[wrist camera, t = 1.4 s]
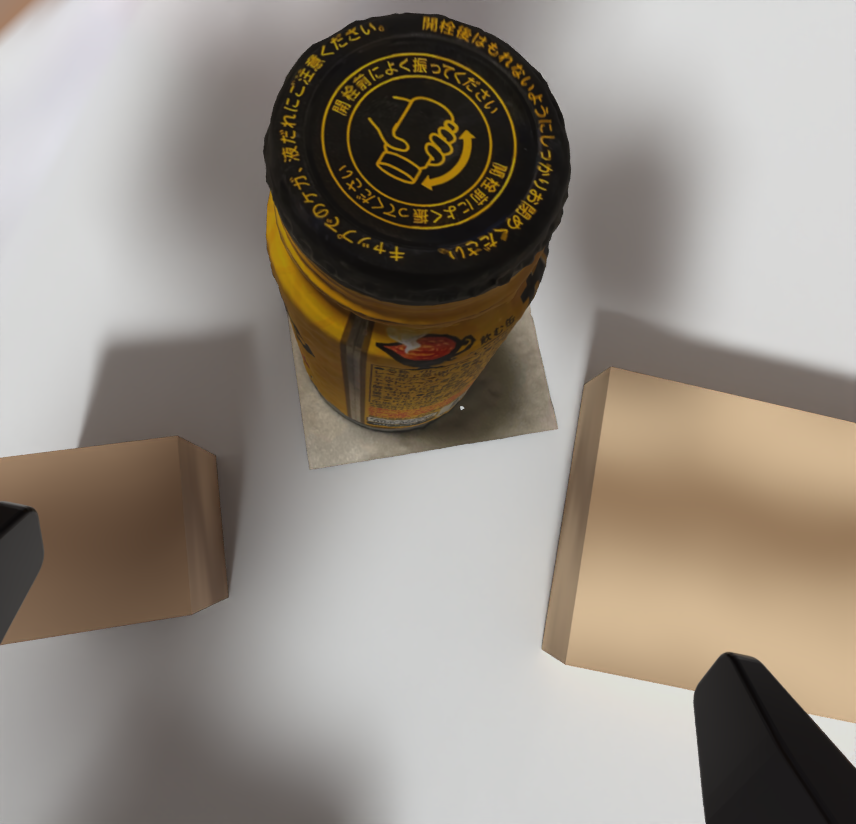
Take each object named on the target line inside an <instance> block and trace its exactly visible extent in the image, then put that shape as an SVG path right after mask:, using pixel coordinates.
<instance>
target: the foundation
mask: <svg viewBox="0 0 856 824" xmlns="http://www.w3.org/2000/svg"><path fill="white" fill-rule="evenodd" d="M542 650H544V651H545V652H547V653H548V654H550V655H551V656H553V657H554V658H556V659H557V660H559V661H561V662H562V663H564V664H565V665H570V666H575V667H580V668H584V669H589V670H594V671H599V672H604V673H609V674H614V675H619V676H624V677H629V678H634V679H639V680H644V681H649V682H654V683H659V684H664V685H669V686H674V687H679V688H684V689H688V690H693V691H695V689H696V687H697V685H698V683H699V682H700V680H701V679H702V678H703V676H704V675H705V674H706V673H707V671H708V670H709V669H710V667H711V666H712V665H713V664H714V662H715V661H716V660H717V658H718V657H719V656H720V655H721V654H723V653H725V652H733V653H738V654H743V655H748V656H752V657H754V658H756V659H758V660H759V661H760V662H761V663H762V664H764V666H765V667H766V668H767V669H768V670H769V671H770V672H771V673H772V675H773V676H774V677H775V678H776V679H777V680H778V681H779V682H780V684H781V685H782V686H783V687H784V688H785V689H786V690H787V691H788V693H789V694H790V695H791V696H792V697H793V698H794V699H795V700H796V702H797V703H798V704H799V705H800V706H801V707H802V708H803V709H804V711H805V712H806V713H807V714H812V715H817V716H822V717H827V718H832V719H837V720H842V721H847V722H852V723H856V423H853V422H849V421H845V420H840V419H836V418H832V417H827V416H823V415H819V414H814V413H810V412H806V411H801V410H797V409H793V408H788V407H784V406H780V405H775V404H771V403H767V402H762V401H758V400H754V399H749V398H745V397H741V396H736V395H732V394H728V393H723V392H719V391H715V390H710V389H706V388H702V387H697V386H693V385H689V384H684V383H680V382H676V381H671V380H667V379H663V378H658V377H654V376H650V375H645V374H641V373H637V372H632V371H628V370H624V369H619V368H615V367H610V368H608V369H607V370H605V371H604V372H602V373H601V374H599V375H598V376H596V377H595V378H593V379H592V380H590V381H589V382H587V383H586V384H584V389H583V395H582V401H581V407H580V414H579V420H578V426H577V432H576V438H575V445H574V451H573V457H572V463H571V470H570V476H569V482H568V488H567V494H566V501H565V507H564V513H563V519H562V526H561V532H560V538H559V544H558V550H557V557H556V563H555V569H554V575H553V582H552V588H551V594H550V600H549V606H548V613H547V619H546V625H545V631H544V638H543V644H542Z"/></svg>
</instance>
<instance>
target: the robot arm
mask: <svg viewBox="0 0 856 824" xmlns="http://www.w3.org/2000/svg"><path fill="white" fill-rule="evenodd" d="M43 560H44V546H43V540H42V534H41V528H40V522H39V516H38V513H37V511H36V510H35V509H34V508H33V507H31V506H27V505H22V504H17V503H12V502H7V501H0V644H1V642H2V641H3V639H4V637H5V635H6V633H7V631H8V629H9V627H10V626H11V624H12V622H13V620H14V618H15V616H16V614H17V612H18V611H19V609H20V607H21V605H22V603H23V601H24V599H25V598H26V596H27V594H28V592H29V590H30V588H31V586H32V584H33V583H34V581H35V579H36V577H37V575H38V573H39V571H40V569H41V567H42V564H43ZM693 702H694V715H695V725H696V735H697V746H698V756H699V766H700V777H701V787H702V797H703V806H704V814H705V822H706V824H856V768H855V767H854V766H853V765H852V764H851V762H850V761H849V760H848V759H847V758H846V757H845V756H844V755H843V753H842V752H841V751H840V750H839V749H838V748H837V747H836V746H835V744H834V743H833V742H832V741H831V740H830V739H829V738H828V737H827V735H826V734H825V733H824V732H823V731H822V730H821V729H820V727H819V726H818V725H817V724H816V723H815V722H814V721H813V720H812V718H811V717H810V716H809V715H808V714H807V713H806V712H805V711H804V709H803V708H802V707H801V706H800V705H799V704H798V703H797V702H796V700H795V699H794V698H793V697H792V696H791V695H790V694H789V693H788V691H787V690H786V689H785V688H784V687H783V686H782V685H781V684H780V682H779V681H778V680H777V679H776V678H775V677H774V676H773V675H772V673H771V672H770V671H769V670H768V669H767V668H766V667H765V666H764V664H762V663H761V662H760V661H759V660H758V659H756V658H754V657H752V656H748V655H743V654H738V653H733V652H725V653H723V654H721V655H720V656H719V657H718V658H717V660H716V661H715V662H714V664H713V665H712V666H711V667H710V669H709V670H708V671H707V673H706V674H705V675H704V676H703V678H702V679H701V680H700V682H699V683H698V685H697V687H696V689H695V692H694V700H693Z"/></svg>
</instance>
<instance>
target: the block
mask: <svg viewBox="0 0 856 824" xmlns="http://www.w3.org/2000/svg"><path fill="white" fill-rule="evenodd" d="M0 501H7V502H12V503H17V504H22V505H27V506H31V507H33V508H34V509H35V510H36V511H37V513H38V516H39V522H40V528H41V534H42V540H43V546H44V560H43V564H42V567H41V569H40V571H39V573H38V575H37V577H36V579H35V581H34V583H33V584H32V586H31V588H30V590H29V592H28V594H27V596H26V598H25V599H24V601H23V603H22V605H21V607H20V609H19V611H18V612H17V614H16V616H15V618H14V620H13V622H12V624H11V626H10V627H9V629H8V631H7V633H6V635H5V637H4V639H3V641H2V642H1V644H0V645H4V644H10V643H16V642H23V641H29V640H35V639H42V638H48V637H54V636H61V635H67V634H73V633H79V632H86V631H92V630H98V629H105V628H111V627H117V626H124V625H130V624H136V623H142V622H149V621H155V620H161V619H168V618H174V617H180V616H187V615H192V614H194V613H196V612H198V611H201V610H203V609H205V608H207V607H209V606H211V605H213V604H215V603H217V602H219V601H221V600H224V599H226V598H228V585H227V574H226V563H225V552H224V541H223V530H222V519H221V508H220V496H219V485H218V474H217V463H216V456H215V455H214V454H212V453H210V452H208V451H206V450H204V449H202V448H200V447H198V446H196V445H194V444H192V443H191V442H189V441H187V440H185V439H183V438H181V437H179V436H171V437H163V438H155V439H147V440H139V441H131V442H123V443H115V444H107V445H99V446H91V447H83V448H75V449H67V450H59V451H51V452H43V453H35V454H27V455H19V456H11V457H3V458H0Z"/></svg>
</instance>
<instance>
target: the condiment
mask: <svg viewBox="0 0 856 824" xmlns="http://www.w3.org/2000/svg"><path fill="white" fill-rule="evenodd" d="M263 153H264V159H265V164H266V182H267V184H268V185H269V187H270V195H269V200H268V204H267V225H266V240H267V251H268V255H269V259H270V262H271V269H272V274H273V276H274V278H275V280H276V282H277V284H278V286H279V290H280V293H281V297H282V299H283V301H284V304H285V308H286V311H287V315H288V322H289V329H290V336H291V343H292V350H293V356H294V364H295V371H296V378H297V385H298V391H299V398H300V405H301V413H302V420H303V427H304V434H305V441H306V448H307V455H308V462H309V469H310V470H312V469H318V468H324V467H331V466H337V465H343V464H349V463H356V462H362V461H368V460H374V459H379V458H387V457H393V456H399V455H405V454H410V453H417V452H423V451H429V450H434V449H441V448H446V447H452V446H457V445H463V444H470V443H477V442H483V441H489V440H495V439H503V438H507V437H513V436H518V435H523V434H529V433H536V432H542V431H548V430H554V429H558V426H557V422H556V418H555V413H554V409H553V406H552V403H551V399H550V394H549V389H548V385H547V381H546V377H545V372H544V367H543V363H542V358H541V355H540V350H539V346H538V341H537V336H536V331H535V326H534V322H533V318H532V316H531V309H530V303H531V301H532V300H533V299H534V297H535V294H536V292H537V289H538V287H539V284H540V282H541V280H542V276H543V273H544V270H545V267H546V260H547V256H548V253H549V249H548V246H549V241H550V240H551V236H552V233H553V232H554V231H555V230H556V228H557V227H558V225H559V224H560V222H561V217H562V215H563V206H564V204H565V202H566V200H567V198H568V185H569V181H570V175H571V166H570V149H569V142H568V138H567V134H566V131H565V124H564V119H563V115H562V113H561V111H560V109H559V106H558V104H557V102H556V100H555V98H554V96H553V95H552V93H551V91H550V89H549V87H548V84H547V82H546V81H545V80H544V79H543V77H542V75H541V74H540V73H539V72H538V71H537V70H536V69H535V68H534V67H533V66H531V65H530V64H529V63H528V62H527V61H526V60H525V59H524V58H523V57H522V56H521V55H520V54H519V53H518V52H517V51H515V50H514V49H513V48H512V47H511V46H510V45H509V44H507V43H505V42H504V41H502V40H500V39H499V38H497V37H495V36H494V35H492V34H489V33H487V32H484V31H483V30H482V29H480V28H477V27H474V26H471V25H468V24H464V23H461V22H458V21H455V20H453V19H449V18H448V17H446V16H443V15H439V14H419V13H418V14H416V13H403V14H396V13H395V14H391V15H387V16H380V17H371V18H368V19H366V20H360V21H354V22H352V23H351V24H349V25H347V26H346V27H345V28H343V29H342V30H340V31H339V32H337V33H335V34H333V35H332V36H330V37H328V38H326V39H324V40H322V41H320V42H318V43H315V44H313V45H312V46H311V47H309V48H308V49H307V50H306V51H305V52H304V53H303V54H302V55H301V57H300V58H299V59H298V61H297V62H296V63H295V65H294V66H293V67H292V69H291V70H290V72H289V73H288V75H287V76H286V79H285V81H284V84H283V86H282V88H281V90H280V92H279V94H278V96H277V99H276V101H275V104H274V107H273V112H272V116H271V121H270V125H269V128H268V130H267V133H266V135H265V138H264V149H263ZM460 406H463V407H464V408H465V409H463V410H461V409H460Z"/></svg>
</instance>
